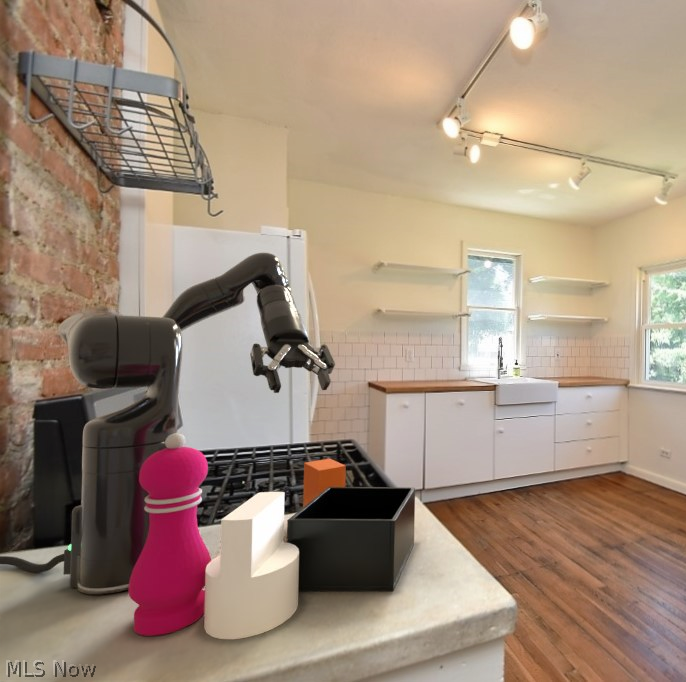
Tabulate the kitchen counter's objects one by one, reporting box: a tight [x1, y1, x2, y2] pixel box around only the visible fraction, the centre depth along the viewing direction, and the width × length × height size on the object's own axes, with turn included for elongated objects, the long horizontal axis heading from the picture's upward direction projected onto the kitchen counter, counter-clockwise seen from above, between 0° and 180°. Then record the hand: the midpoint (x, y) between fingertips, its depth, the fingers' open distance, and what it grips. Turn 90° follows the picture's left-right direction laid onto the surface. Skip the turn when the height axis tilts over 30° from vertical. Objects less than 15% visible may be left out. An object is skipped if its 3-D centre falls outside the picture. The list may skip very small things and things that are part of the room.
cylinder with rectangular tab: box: [203, 491, 299, 640], centre depth 50 cm, size 9×9×12 cm
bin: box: [286, 486, 416, 592], centre depth 61 cm, size 13×13×9 cm
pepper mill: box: [128, 432, 212, 637], centre depth 49 cm, size 7×7×20 cm
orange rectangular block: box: [302, 458, 347, 508], centre depth 75 cm, size 4×6×10 cm
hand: (302, 388), depth 83 cm, fingers open, 8 cm apart
